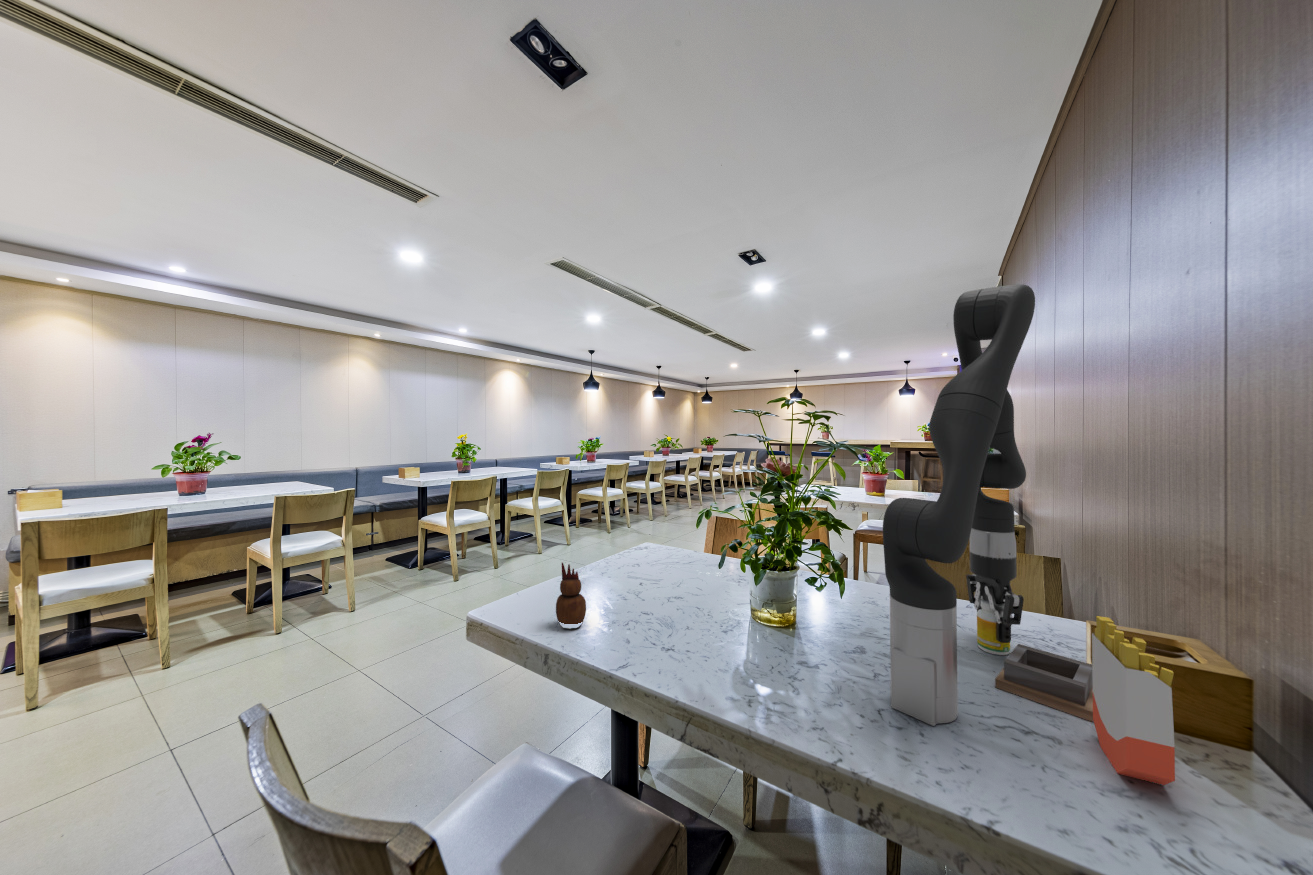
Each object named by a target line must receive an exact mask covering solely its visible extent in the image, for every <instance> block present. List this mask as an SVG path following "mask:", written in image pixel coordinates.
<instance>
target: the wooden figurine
mask: <svg viewBox="0 0 1313 875" xmlns="http://www.w3.org/2000/svg"><path fill="white" fill-rule="evenodd" d="M559 591H560V593H561V594H559V595H558V597H557V599H556V603H555V615H556V618H557V622H558V621H559V622H561V623H564V624H578V623H581V622H584V620H585V617H586V613H587V604H586V599H585V597H584V596H583V595H582V594H581V593H580V592H581V591H582V582H581V580H580V578H579V573H578V571H576V572H575V568H574V567H573V568H572V569H571V564H570V563H569V564H568V566H567V569H566V568H565V563H564V562H561V580H560V584H559ZM559 622H558V623H559Z"/></svg>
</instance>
